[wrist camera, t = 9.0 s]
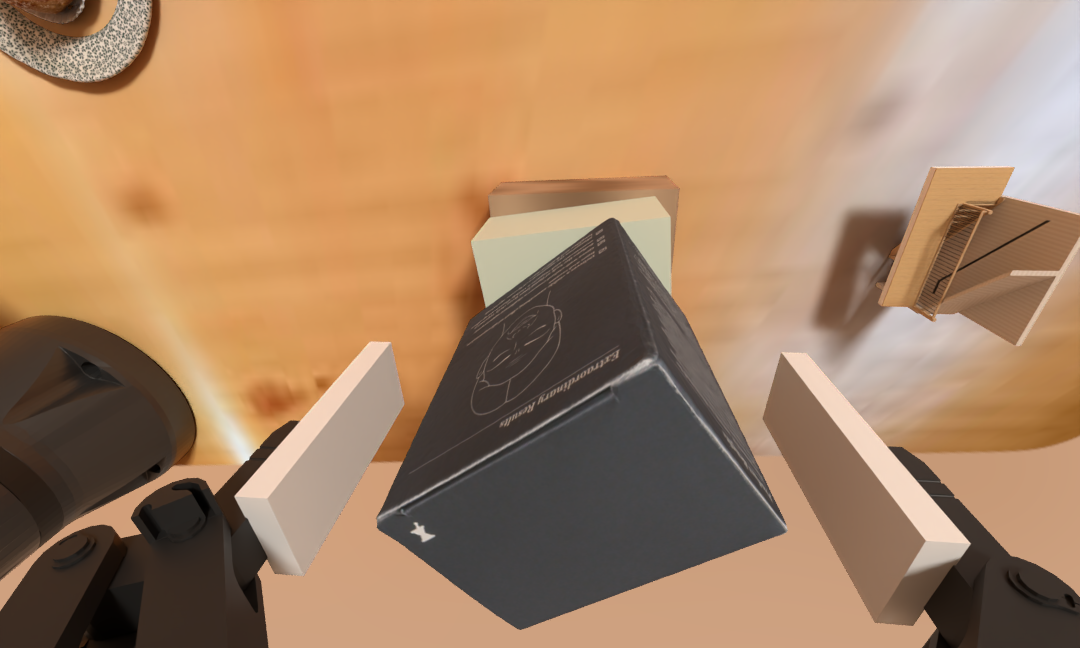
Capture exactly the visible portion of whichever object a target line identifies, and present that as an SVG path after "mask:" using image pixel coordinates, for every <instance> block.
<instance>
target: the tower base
mask: <svg viewBox="0 0 1080 648" xmlns="http://www.w3.org/2000/svg"><path fill="white" fill-rule="evenodd" d="M679 189H680V188H679V187H677V186H676V185H675V184H674V183H673V182H672V181H671V180H670V179H669V178H668V177H667V176H645V177H620V178H596V179H571V180H546V181H522V182H501V183H500V184H499V185H498V186H497V187H496V188H495V189H494V190H493V191H492V192H491V193H490V194H489V195H488V199H489V208H490V218H491V217H498V216H506V215H514V214H521V213H529V212H536V211H544V210H552V209H559V208H567V207H575V206H582V205H590V204H598V203H605V202H613V201H621V200H628V199H636V198H644V197H651V196H655V197H656V198H657V199H658V201H659V202H660V203H661V205H662V206H663V207H664V209H665V210H666V211H667V213H668V214H669V215H670V217H671V272H672V262H673V251H674V241H675V230H676V220H677V209H678V199H679Z"/></svg>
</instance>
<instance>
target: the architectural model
mask: <svg viewBox="0 0 1080 648" xmlns="http://www.w3.org/2000/svg"><path fill="white" fill-rule="evenodd" d="M1014 168H1015V167H1009V166H976V167H931V168H930V171H929V173H928V176H927V178H926V181H925V183H924V186H923V188H922V191H921V194H920V196H919V199H918V201H917V204H916V206H915V209H914V212H913V214H912V217H911V219H910V222H909V224H908V227H907V229H906V232H905V235H904V237H903V240H902V242H901V244H899V245H898V246H897V247H895V248H894V249H893V250H892V251H891V253H890V255H889V256H888V257H889V258H891V259H893V260H894V263H893V265H892V268H891V270H890V273H889V276H888V278H887V281H886V282H877V283H876V286H877V287H878V288H880V289H881V290H883V291H882V294H881V296H880V299H879V301H878V304H880V305H881V306H895V307H908V308H910V309H911V310H913V311H914V312H916V313H920V314H922V315H923V316H925V317H926V318H928V319H929V320H931V321H932V322H935V321H936V318H935V316H936V314H955V313H958V312H959V313H960V314H962V315H964V316H965V317H967V318H969V319H971V320H972V321H974V322H976V323H977V324H979V325H981V326H983V327H984V328H986V329H988V330H989V331H991V332H993V333H994V334H996V335H998V336H1000V337H1001V338H1003V339H1005V340H1006V341H1008V342H1010V343H1012V344H1013V345H1015V346H1021V345H1022V343H1023V341H1024V340H1025V338H1026V336H1027V335H1028V333H1029V331H1030V330H1031V328H1032V326H1033V325H1034V323H1035V321H1036V320H1037V318H1038V316H1039V315H1040V313H1041V311H1042V310H1043V308H1044V306H1045V305H1046V303H1047V301H1048V300H1049V298H1050V296H1051V294H1052V293H1053V291H1054V289H1055V288H1056V286H1057V284H1058V283H1059V281H1060V279H1061V278H1062V276H1063V274H1064V273H1065V271H1066V269H1067V268H1068V266H1069V264H1070V263H1071V261H1072V259H1073V258H1074V256H1075V254H1076V253H1077V251H1078V249H1079V248H1080V214H1079V213H1074V212H1070V211H1066V210H1062V209H1058V208H1054V207H1050V206H1046V205H1041V204H1037V203H1033V202H1029V201H1025V200H1021V199H1017V198H1012V197H1008V196H1004V195H1002V193H1003V191H1004V189H1005V187H1006V185H1007V183H1008V181H1009V178H1010V176H1011V174H1012V172H1013V170H1014ZM895 256H896V257H895ZM929 314H933V316H931V315H929Z"/></svg>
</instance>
